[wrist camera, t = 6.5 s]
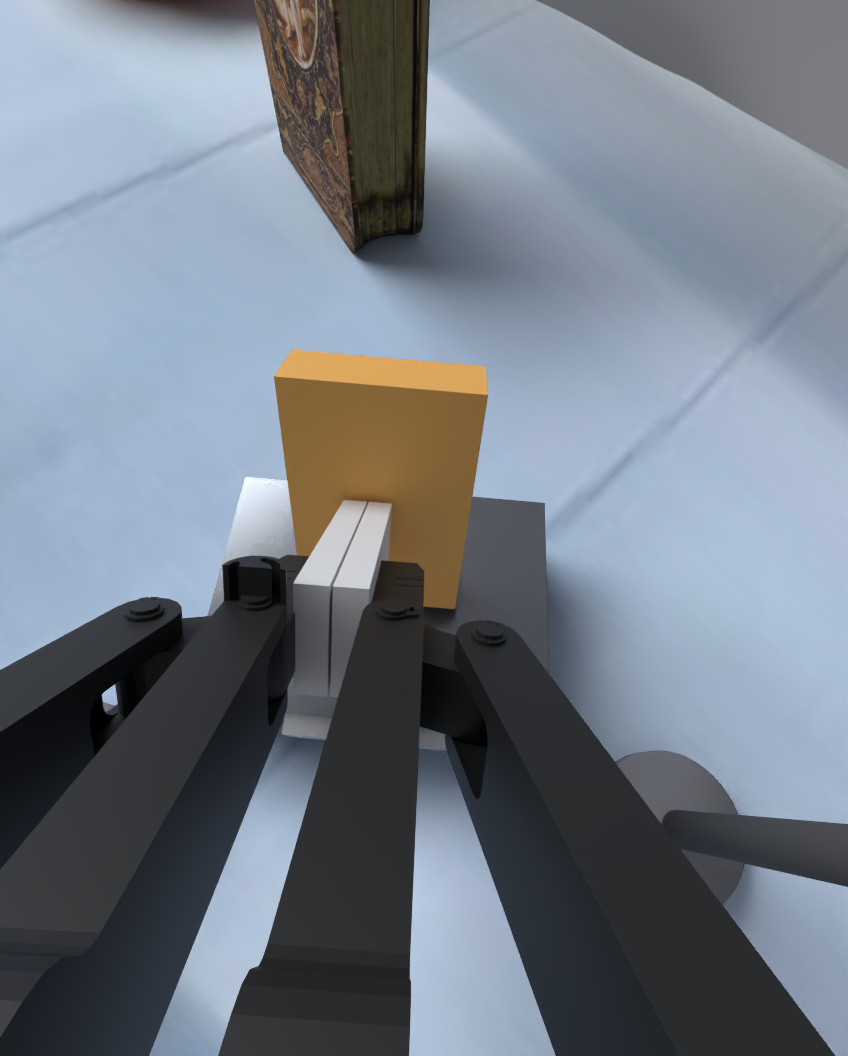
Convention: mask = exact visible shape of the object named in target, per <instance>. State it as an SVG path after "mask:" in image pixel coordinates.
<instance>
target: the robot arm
mask: <svg viewBox="0 0 848 1056" xmlns="http://www.w3.org/2000/svg"><path fill="white" fill-rule="evenodd" d="M391 512H392V504H391V503H378V502H369V503H368V505H367V502H365V501H353V500H344V501H343V503H342V504H341V506H340V507H339V509H338V511H337V512H336V514H335V516H334V517H333V519H332V521H331V522H330V524H329V525H328V527H327V529H326V530H325V532H324V534H323V535H322V537H321V538H320V540H319V542H318V543H317V545H316V547H315V548H314V550H313V552H312V553H311V555H310V556H299V555H285V556H283V557H281V558H279V559H277V558H275V557H269V556H245V557H239V558H236V559H233V560H229V561H228V562H226V563H225V564H223V565H222V570H223V590H224V601H223V603H222V604H221V605H220V606H219V607H218V609H217V610H216V611H215V612H214V613H213V615H212V616H205V617H194V618H183V619H182V610H181V606H180V605H179V604H178V602H176V601H173V600H170V599H165V598H158V597H150V598H149V597H146V598H140V599H138V600H135V601H131V602H127V603H125V604H123V605H120V606H118V607H116V608H114V609H112V610H110V611H108V612H106V613H105V614H103V615H101V616H99V617H97V618H95V619H94V620H92V621H90V622H88V623H86V624H84V625H82V626H81V627H79V628H77V629H75V630H73V631H71V632H70V633H68V634H66V635H64V636H62V637H60V638H59V639H57V640H55V641H53V642H51V643H49V644H47V645H46V646H44V647H42V648H40V649H38V650H36V651H35V652H33V653H31V654H29V655H27V656H25V657H23V658H22V659H20V660H18V661H16V662H14V663H12V664H11V665H9V666H7V667H5V668H3V669H1V670H0V1056H149V1054H150V1052H151V1049H152V1047H153V1044H154V1042H155V1039H156V1037H157V1034H158V1032H159V1029H160V1027H161V1024H162V1022H163V1019H164V1017H165V1014H166V1011H167V1009H168V1006H169V1004H170V1001H171V999H172V996H173V994H174V991H175V989H176V986H177V984H178V981H179V979H180V976H181V974H182V971H183V969H184V966H185V964H186V961H187V959H188V956H189V954H190V951H191V949H192V946H193V944H194V941H195V939H196V936H197V934H198V931H199V929H200V926H201V924H202V921H203V919H204V916H205V913H206V911H207V908H208V906H209V903H210V901H211V898H212V896H213V893H214V891H215V888H216V886H217V883H218V881H219V878H220V876H221V873H222V871H223V868H224V866H225V863H226V861H227V858H228V856H229V853H230V851H231V848H232V846H233V843H234V841H235V838H236V836H237V833H238V831H239V828H240V826H241V823H242V821H243V818H244V816H245V813H246V810H247V808H248V805H249V803H250V800H251V798H252V795H253V793H254V790H255V788H256V785H257V783H258V780H259V778H260V775H261V773H262V770H263V768H264V765H265V763H266V760H267V758H268V755H269V753H270V750H271V748H272V745H273V743H274V740H275V738H276V735H277V733H278V730H279V728H280V725H281V723H282V720H283V718H284V715H285V712H286V710H287V704H288V686H289V683H290V681H291V679H292V677H293V694H296V695H310V696H323V697H327V696H328V693H329V689H330V697H338V699H337V702H336V706H335V709H334V713H333V716H332V720H331V723H330V727H329V730H328V734H327V737H326V741H325V744H324V748H323V751H322V755H321V758H320V762H319V765H318V769H317V772H316V776H315V779H314V783H313V786H312V790H311V793H310V797H309V800H308V804H307V807H306V811H305V814H304V818H303V821H302V825H301V828H300V832H299V835H298V839H297V842H296V846H295V849H294V853H293V856H292V860H291V863H290V867H289V870H288V874H287V877H286V881H285V884H284V888H283V891H282V895H281V898H280V902H279V905H278V909H277V912H276V916H275V919H274V923H273V926H272V930H271V933H270V937H269V940H268V944H267V947H266V950H265V953H264V956H263V959H262V960H261V962H260V964H259V966H258V967H255V968H252V969H250V970H249V972H248V974H247V976H246V978H245V979H244V981H243V983H242V985H241V988H240V991H239V994H238V996H237V999H236V1002H235V1005H234V1008H233V1011H232V1013H231V1017H230V1020H229V1023H228V1026H227V1029H226V1033H225V1036H224V1039H223V1042H222V1046H221V1049H220V1052H219V1055H218V1056H409V1039H410V1009H411V980H410V944H411V921H412V897H413V873H414V849H415V826H416V802H417V778H418V754H419V731H420V727H423V728H427V729H430V730H433V731H436V732H439V733H442V734H445V746H446V749H447V752H448V755H449V758H450V760H451V763H452V766H453V769H454V772H455V774H456V777H457V780H458V783H459V786H460V788H461V791H462V794H463V797H464V800H465V802H466V805H467V808H468V811H469V814H470V816H471V819H472V822H473V825H474V828H475V831H476V833H477V836H478V839H479V842H480V845H481V847H482V850H483V853H484V856H485V859H486V861H487V864H488V867H489V870H490V873H491V875H492V878H493V881H494V884H495V887H496V889H497V892H498V895H499V898H500V901H501V903H502V906H503V909H504V912H505V915H506V917H507V920H508V923H509V926H510V929H511V931H512V934H513V937H514V940H515V943H516V946H517V948H518V951H519V954H520V957H521V960H522V962H523V965H524V968H525V971H526V974H527V976H528V979H529V982H530V985H531V988H532V990H533V993H534V996H535V999H536V1002H537V1004H538V1007H539V1010H540V1013H541V1016H542V1018H543V1021H544V1024H545V1027H546V1030H547V1032H548V1035H549V1038H550V1041H551V1044H552V1046H553V1049H554V1052H555V1055H556V1056H835V1055H834V1053H833V1052H832V1051H831V1049H830V1048H829V1047H828V1045H827V1044H826V1043H825V1041H824V1040H823V1039H822V1037H821V1036H820V1035H819V1033H818V1032H817V1031H816V1029H815V1028H814V1027H813V1025H812V1024H811V1023H810V1021H809V1020H808V1019H807V1017H806V1016H805V1015H804V1013H803V1012H802V1011H801V1009H800V1008H799V1007H798V1005H797V1004H796V1003H795V1001H794V1000H793V999H792V997H791V996H790V995H789V993H788V992H787V991H786V989H785V988H784V987H783V985H782V984H781V983H780V981H779V980H778V979H777V977H776V976H775V975H774V973H773V972H772V971H771V969H770V968H769V967H768V965H767V964H766V963H765V961H764V960H763V959H762V957H761V956H760V955H759V953H758V952H757V951H756V949H755V948H754V947H753V945H752V944H751V943H750V941H749V940H748V939H747V937H746V936H745V935H744V933H743V932H742V931H741V929H740V928H739V927H738V925H737V924H736V923H735V921H734V920H733V919H732V917H731V916H730V915H729V913H728V912H727V911H726V909H725V908H724V907H723V905H722V904H721V903H720V901H719V900H718V899H717V897H716V896H715V895H714V893H713V892H712V891H711V889H710V888H709V887H708V885H707V884H706V883H705V881H704V880H703V879H702V877H701V876H700V875H699V873H698V872H697V871H696V869H695V868H694V867H693V865H692V864H691V863H690V861H689V860H688V859H687V857H686V856H685V855H684V853H683V852H682V851H681V849H680V848H679V847H678V845H677V844H676V843H675V841H674V840H673V839H672V837H671V836H670V835H669V833H668V832H667V831H666V829H665V828H664V827H663V825H662V824H661V823H660V821H659V820H658V819H657V817H656V816H655V815H654V813H653V812H652V811H651V809H650V808H649V807H648V805H647V804H646V803H645V801H644V800H643V799H642V797H641V796H640V795H639V793H638V792H637V791H636V790H635V788H634V787H633V786H632V784H631V783H630V782H629V780H628V779H627V778H626V776H625V775H624V774H623V772H622V771H621V770H620V768H619V767H618V766H617V764H616V763H615V762H614V760H613V759H612V758H611V756H610V755H609V754H608V752H607V751H606V750H605V748H604V747H603V746H602V744H601V743H600V742H599V740H598V739H597V738H596V736H595V735H594V734H593V732H592V731H591V730H590V728H589V727H588V726H587V724H586V723H585V722H584V720H583V719H582V718H581V716H580V715H579V714H578V712H577V711H576V710H575V708H574V707H573V706H572V704H571V703H570V702H569V700H568V699H567V698H566V696H565V695H564V694H563V692H562V691H561V690H560V688H559V687H558V686H557V684H556V683H555V682H554V680H553V679H552V678H551V676H550V675H549V674H548V672H547V671H546V670H545V668H544V667H543V666H542V664H541V663H540V662H539V660H538V659H537V658H536V656H535V655H534V654H533V652H532V651H531V650H530V648H529V647H528V646H527V644H526V643H525V642H524V640H523V639H522V638H521V636H520V635H519V634H518V633H517V632H516V631H514V630H513V629H512V628H510V627H508V626H506V625H504V624H502V623H499V622H494V621H491V620H486V621H482V620H477V621H471V622H467V623H465V624H463V625H461V626H460V627H459V628H458V630H457V631H456V635H453V634H450V633H446V632H443V631H440V630H438V629H436V628H434V627H432V626H431V625H430V624H429V623H427V621H426V620H425V619H424V613H423V603H424V570H423V569H422V568H421V567H420V566H419V565H418V563H409V562H396V561H389V545H390V528H391ZM114 684H115V686H116V694H117V701H118V704H117V705H116V706H115V707H113V708H112V709H111V710H109V711H106V712H105V710H104V708H103V701H102V694H103V693H104V691H106V690H107V689H109V688H110V687H111V686H113V685H114ZM330 686H331V687H330Z"/></svg>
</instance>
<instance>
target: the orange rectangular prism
mask: <svg viewBox="0 0 848 1056" xmlns="http://www.w3.org/2000/svg"><path fill="white" fill-rule="evenodd" d="M274 380H275V388H276V395H277V403H278V411H279V419H280V427H281V435H282V442H283V450H284V458H285V466H286V474H287V481H288V489H289V497H290V505H291V513H292V521H293V528H294V536H295V544H296V552H297V555H299V556H310V555H311V553H312V552H313V550H314V548H315V547H316V545H317V543H318V542H319V540H320V538H321V537H322V535H323V534H324V532H325V530H326V529H327V527H328V525H329V524H330V522H331V521H332V519H333V517H334V516H335V514H336V512H337V511H338V509H339V507H340V506H341V504H342V503H343V501H344V500H353V501H365V502H367V505H368V503H369V502H378V503H391V504H392V512H391V528H390V545H389V561H396V562H409V563H418V565H419V566H420V567H421V568H422V569H423V570H424V603H423V606H424V607H435V608H447V609H455V608H459V606H460V600H461V589H462V574H460V572H461V566H462V559H463V553H464V546H465V540H466V534H467V527H468V521H469V514H470V508H471V501H472V495H473V488H474V482H475V475H476V469H477V463H478V456H479V450H480V443H481V437H482V430H483V424H484V417H485V411H486V404H487V398H488V389H487V377H486V367H485V366H474V365H462V364H451V363H439V362H427V361H416V360H404V359H393V358H381V357H370V356H358V355H346V354H335V353H323V352H312V351H300V350H292V351H291V353H290V354H289V355H288V357H287V358H286V360H285V361H284V363H283V364H282V366H281V367H280V368H279V370H278V371H277V373H276V374H275V376H274Z"/></svg>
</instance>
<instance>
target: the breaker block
mask: <svg viewBox="0 0 848 1056" xmlns="http://www.w3.org/2000/svg"><path fill="white" fill-rule="evenodd" d="M285 555H297V552H296V544H295V536H294V528H293V521H292V513H291V505H290V497H289V489H288V481H286V480H275V479H263V478H252V477H245V481H244V484H243V488H242V492H241V495H240V499H239V503H238V506H237V510H236V514H235V517H234V521H233V525H232V528H231V532H230V536H229V539H228V543H227V547H226V551H225V554H224V558H223V562H222V565H223V564H225V563H226V562H228V561H229V560H233V559H236V558H239V557H245V556H269V557H275V558H277V559H279V558H281V557H283V556H285ZM222 565H221V569H220V573H219V576H218V580H217V584H216V587H215V591H214V595H213V598H212V602H211V606H210V609H209V613H208V616H212V615H213V613H214V612H215V611H216V610H217V609H218V607H219V606H220V605H221V604H222V603H223V601H224V590H223V570H222ZM460 574H462V589H461V600H460V606H459V608H455V609H447V608H435V607H424V606H423V613H424V619H425V620H426V621H427V623H429V624H430V625H431V626H432V627H434V628H436V629H438V630H440V631H443V632H446V633H450V634H453V635H456V631H457V630H458V628H459V627H460V626H461V625H463V624H465V623H467V622H471V621H477V620H482V621H486V620H491V621H494V622H499V623H502V624H504V625H506V626H508V627H510V628H512V629H513V630H514V631H516V632H517V633H518V634H519V635H520V636H521V638H522V639H523V640H524V642H525V643H526V644H527V646H528V647H529V648H530V650H531V651H532V652H533V654H534V655H535V656H536V658H537V659H538V660H539V662H540V663H541V664H542V666H543V667H544V668H545V670H546V671H547V672H548V674H549V660H548V620H547V580H546V539H545V503H538V502H526V501H515V500H503V499H492V498H481V497H472V501H471V508H470V514H469V521H468V527H467V534H466V540H465V546H464V553H463V559H462V566H461V572H460ZM330 687H331V686H330ZM337 699H338V697H330V689H329V693H328V696H327V697H323V696H310V695H296V694H293V677H292V679H291V681H290V683H289V686H288V704H287V710H286V712H285V715H284V718H283V720H284V723H283V728H282V735H285V736H288V737H296V738H307V739H318V740H326V737H327V734H328V730H329V727H330V723H331V720H332V716H333V713H334V709H335V706H336V702H337ZM419 749H430V750H441V751H447V749H446V746H445V734H442V733H439V732H436V731H433V730H430V729H427V728H423V727H420V731H419Z"/></svg>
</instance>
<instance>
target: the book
mask: <svg viewBox="0 0 848 1056" xmlns="http://www.w3.org/2000/svg"><path fill="white" fill-rule="evenodd" d="M254 3H255V9H256V14H257V19H258V24H259V29H260V34H261V39H262V45H263V50H264V55H265V60H266V65H267V70H268V76H269V81H270V86H271V91H272V96H273V101H274V106H275V112H276V117H277V122H278V127H279V132H280V137H281V142H282V148H283V152H284V154H285V155H286V157H287V158H288V159H289V161H290V162H291V164H292V165H293V167H294V168H295V170H296V171H297V173H298V174H299V176H300V177H301V179H302V180H303V182H304V183H305V185H306V186H307V188H308V189H309V191H310V192H311V194H312V195H313V197H314V198H315V200H316V201H317V202H318V204H319V205H320V207H321V208H322V210H323V211H324V213H325V214H326V216H327V217H328V219H329V220H330V222H331V223H332V225H333V226H334V228H335V229H336V231H337V232H338V233H339V235H340V236H341V238H342V239H343V240H344V242H345V243H346V244H347V246H348V247H349V249H350V250H351V251H352V252H353V253H355V252H358V251H359V249H360V247H361V246H362V245H363V244H364V243H366V242H367V241H369V240H371V239H373V238H375V237H378V236H382V235H387V234H396V233H410V234H417V233H420V231H421V229H422V221H423V205H424V174H425V141H426V107H427V73H428V40H429V6H430V0H254Z"/></svg>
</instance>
